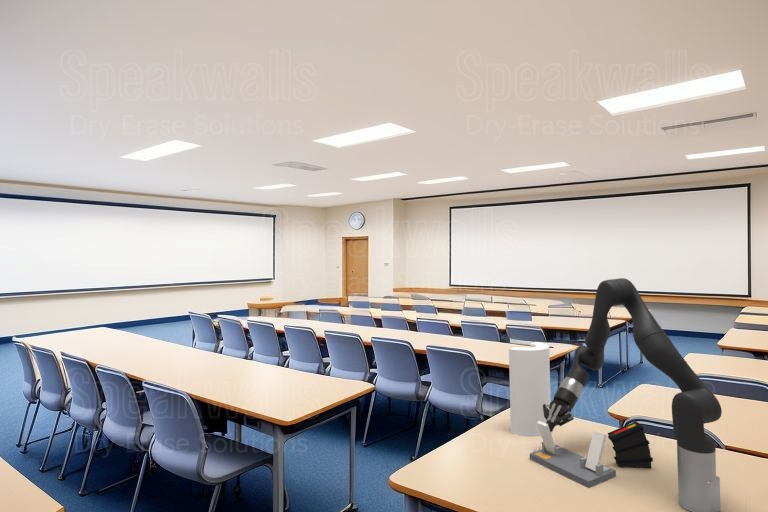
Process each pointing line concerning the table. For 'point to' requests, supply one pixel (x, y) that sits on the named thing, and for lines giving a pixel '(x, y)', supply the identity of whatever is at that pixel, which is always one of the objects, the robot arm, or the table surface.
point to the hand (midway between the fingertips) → (546, 432)
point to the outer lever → (546, 437)
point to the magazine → (631, 446)
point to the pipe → (529, 387)
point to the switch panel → (572, 466)
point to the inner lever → (595, 450)
